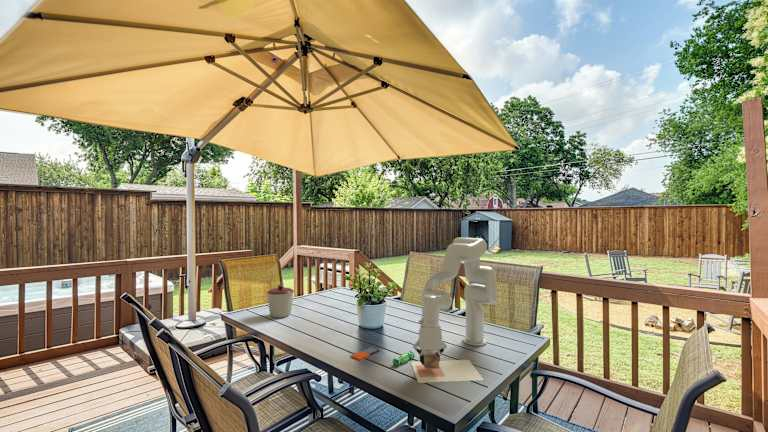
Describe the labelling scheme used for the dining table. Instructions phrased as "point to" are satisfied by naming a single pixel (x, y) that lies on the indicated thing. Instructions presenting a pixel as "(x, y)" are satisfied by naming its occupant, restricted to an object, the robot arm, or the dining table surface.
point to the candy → (403, 358)
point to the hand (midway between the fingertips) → (429, 363)
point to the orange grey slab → (364, 353)
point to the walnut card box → (431, 359)
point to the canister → (280, 301)
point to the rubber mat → (446, 372)
